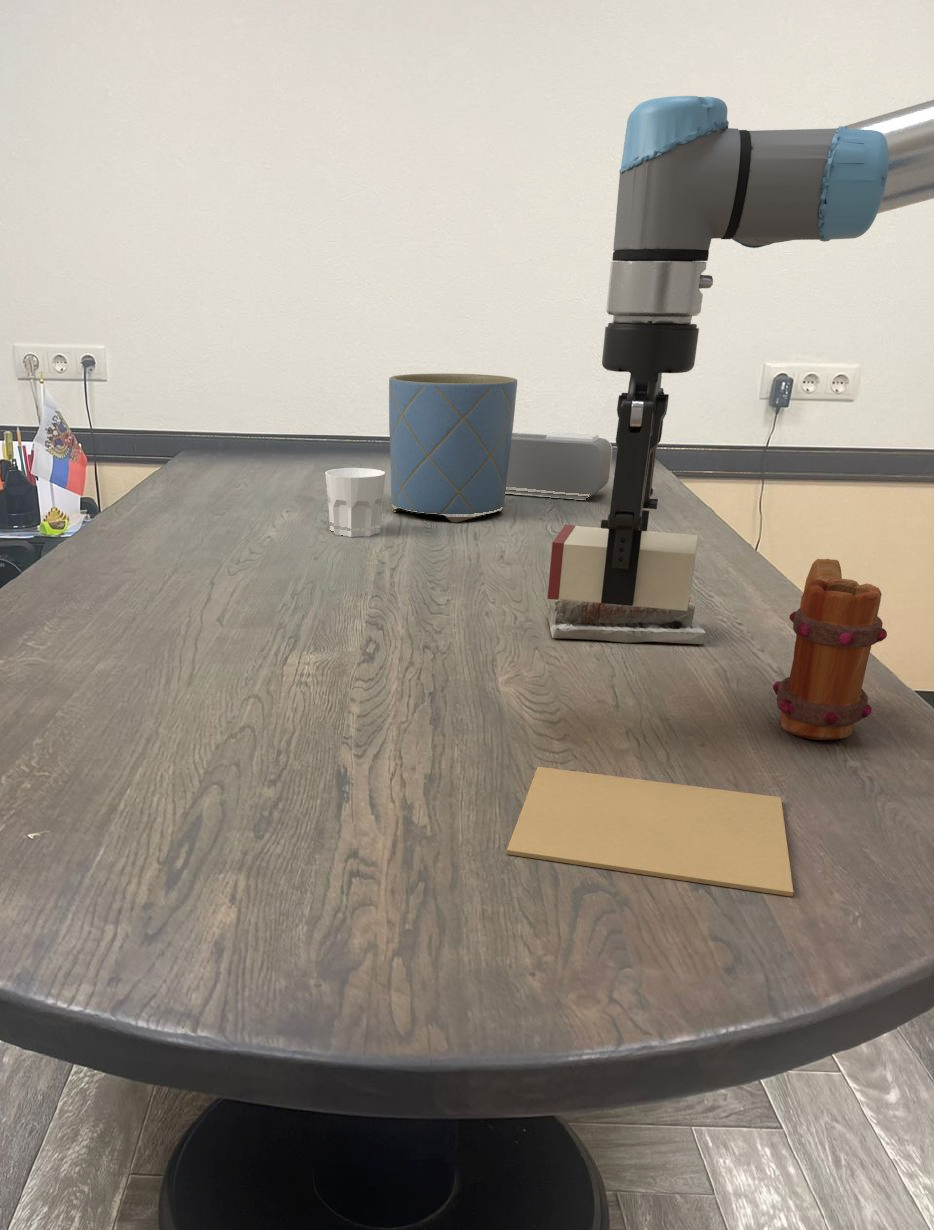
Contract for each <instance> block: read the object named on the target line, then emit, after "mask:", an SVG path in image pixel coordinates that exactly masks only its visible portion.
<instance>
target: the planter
mask: <svg viewBox="0 0 934 1230" xmlns="http://www.w3.org/2000/svg"><path fill="white" fill-rule="evenodd" d="M517 390H518V379H517V378H515V377H510V376H504V375H493V374H477V373H412V374H411V373H410V374H397V375H392V376H390V377H389V378H388V424H389V425H388V427H389V428H388V430H389V431H388V432H389V433H388V434H389V460H390V461H389V463H390V501H391V505H392V504H393V505H394V506H396V507H401V508H403V509H407V510H411V511H417V512H424V513H437V514H474V513H483V512H489V511H494V510H497V509H500V508H501V507H503V509H502V510H501V511H500V512H503V510H504V506H505V501H506V500H505V499H506V495H505V491H506V482H507V473H508V464H509V456H510V448H511V440H512V432H513V430H514V421H515V413H516V399H517ZM513 433H514V432H513ZM392 509H393V510H392ZM391 510H392V512H393V511H397V512H398V509H394V508H393V507H392V506H391ZM483 516H485V515H483ZM483 516H482V517H483ZM479 517H480V516H475V517H445V518H446V519H447V520H448V521H449V522H450V523H452V522H456V523H460V522H464V521H467V520H471V519H476V518H479Z"/></svg>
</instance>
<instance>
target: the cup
mask: <svg viewBox="0 0 934 1230" xmlns="http://www.w3.org/2000/svg"><path fill="white" fill-rule="evenodd" d="M324 473H325V483H326V495H327V504H328V505H327V506H328V507H327V508H328V521H329V523H330V522H332V523H334V526H341V527H347V528H350V529H353V528H371V527H372V526H375V525H380V527H379V528H374V529H371V531H366V530H364V531H352V532H351V531H347V530H340V529H334V527H333V526H330V525H329V531H330V530H331V531H334V532H333V533H334V536H341V535H343V536H342V537H348V538H357V537H371V536H373V535H376V534H381V523H382V512H383V511H382V510H383V500H384V492H385V491H384V489H385V481H386V480H385V479H386V471H384V470H381V469H376V468H367V467H344V468H343V467H342V468H334V469H329V470H326V471H325V472H324ZM331 531H330V532H331Z"/></svg>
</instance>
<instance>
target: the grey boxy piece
mask: <svg viewBox="0 0 934 1230" xmlns="http://www.w3.org/2000/svg"><path fill="white" fill-rule="evenodd" d="M695 609H696V606H695V605H694V602H693V599H692V597H691V596H690V598H689V605H688V610H687V611H683V610H672V609H661V608H650V607H639V606H628V605H617V604H606V603H595V602H584V601H574V600H563V599H558V600H554V599H549V604H548V607H547V620H548V624H549V628H550V634H551V638H552V639H570V640H589V641H590V640H591V641H604V642H614V643H615V642H617V643H627V644H629V643H645V642H653V643H654V642H655V643H656V642H657V643H671V644H689V645H690V644H691V645H703V643H704V641H705V638H706V635H707V633H706V631H705V630H704V629H703V628H702V626H701V625H700V624H699V623H698V621H697V620H696V618H695V616H694V615H695Z"/></svg>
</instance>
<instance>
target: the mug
mask: <svg viewBox="0 0 934 1230" xmlns="http://www.w3.org/2000/svg"><path fill="white" fill-rule="evenodd" d="M842 575H843V574H842V567H841V564H840V561H839V560H838V559H831V558H816V559H815V560H814V561H813V562H812V564H811V566H810V568H809V571H808V574H807V577H806V579H805V584H804V588H803V592H802V596H801V598H800V599H801V600H800V605H799V608H798V609H797V610H795V611H793V612H791V613H790V614H789V620H790V621H791V622H792V624H793V625H792V630H793V632H794V633H795V643H794V649H793V659H792V664H791V668H790V669H791V670H790V673H789V676H788V677H786V678H784V679H783V680H778V681H776V682H775V683H774V684H772V691H773V692H774V694H775V695H776V704H777V708H778V709H779V711H781V713H780V726H781V728H782V729H784V731H786V732H788V733H790V734H791V735H794V736H797V737H799V738H806V739H807V740H815V741H834V740H839V739H840V740H841V739H845V738H847V737H849V736H851V735H852V732H853V730H854V729H853V728H854V725H855V724H857V723H859V722H860V721H862V720H864V719H865V718H868V716H870V715H871V714H872V712H873V709H872V707H871V705H869V704H868V701H869V696H868V695H867V693H866V692H865V690H864V689H863V684H864V680H865V675H866V670H867V666H868V662H869V657H870V654H871V650H872V646H873V645H875V644H877V643H880V642H883V641H884V640H885V639H886V638H887V636H888V632H887V630H886V629H885V628H884V627H883V624H884V623H883V620H882V619H881V618H880V617H879V616H878V615H879V610H880V607H881V599H882V595H883V594H882V592H881V589H880V587H878V586H876V585H873V584H871V583H864V584H859V583H858V581H856V580H854V579H850V578H849V579H847V578H843V577H842Z"/></svg>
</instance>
